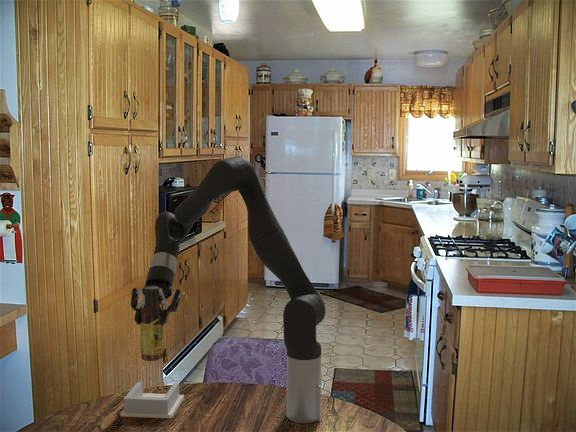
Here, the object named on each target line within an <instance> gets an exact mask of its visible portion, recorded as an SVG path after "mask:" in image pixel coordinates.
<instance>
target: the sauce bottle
mask: <svg viewBox="0 0 576 432" xmlns="http://www.w3.org/2000/svg"><path fill="white" fill-rule="evenodd" d="M143 288H144V287H143ZM144 293H145V305H144V307H143V308H142V310H141V321H140V327H139V328H140V329H139V330H140V332H139V333H140V337H139V338H140V357H141V360H143V361H144V362H145V361H146V362H153V361H154V362H155V361H160V360H161V359H163V357H164V351H165V342H164V341H165V340H164V335H165V334H164V329H165V327H164V326H165V325H164V326H163V325H161V324H160V319H161V314H162V308H161V304H159V287H157V286H149V287H145V288H144Z"/></svg>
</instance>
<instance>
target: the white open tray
mask: <svg viewBox="0 0 576 432" xmlns="http://www.w3.org/2000/svg"><path fill="white" fill-rule="evenodd" d="M184 399H185V395H184V394H180V383H177V382H173V384H172V385H171V386H170V387H169V390H167V393H149V392H148V393H147V392H144V382H143V381H137V382H136V383H135V385H134V386H133V387H132V388H131V389H130V390H129V392H128V393H127V394H126V396H124V397H123V409H122V410H121V411H120V417H128V418H153V419H154V418H156V419H173V416H174V415H175V414H176V413H177V410H178V409H179V407H180V405H181V403H182V402H183V401H184Z"/></svg>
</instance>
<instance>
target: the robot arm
mask: <svg viewBox="0 0 576 432" xmlns="http://www.w3.org/2000/svg"><path fill="white" fill-rule="evenodd" d="M203 177H204V178H203V179H202V180H201V182H199V184H198V185H197V186H196V188H195V189H194V190H193V191H192V192H191V193H190V194H189V195H188V196H187V197H186V198H185V199H184V200H183V201H182V202H180V204H179V205H178V206H176V207H175V210H174V213H172V212H169V211H163V212H161V213H160V214H158V215H157V217H156V219H155V222H154V235H155V236H154V237H155V247H154V252H153V256H152V258H151V260H150V264H149V267H148V272H147V276H146V279H145V285H144V286H143V288H141V289H137V288H136V287H134V288H132V289H131V290H132V291H131V297H130V298H131V300H130V306H131V309H132V311H135V314H134V319H133V320H134V322H135V324H136V325H140V321H141V310H142V308H143V307H144V305H145V293H144V288H145V287H149V286H157V287H159V304H160V305H162V307H163V310H162V309H161V310H162V314H161V319H160V324H161V325H163V326H165V324H167V323H168V318H169V314H170V313H176V312H177V310H178V307H179V303H180V302H181V298H182V292H181V290H180V289H179V288H177V289H176V290H173V286H174V281H175V280H174V279H175V276H176V273H177V265H178V264H177V263H178V259H179V258H178V257H179V252H180V244H179V242H181V241H184V240H186V238H187V237H188V235H189V233H190V231H191V229H192V227H193V226H194V225H195V224H196V223H197V221H199V220H200V219H201V218H202V217H204V215H205V214H206V213H207V212H208V211H209V210H210V207H211V203H212V202H213V201H215V200H216V199H217V198H219V197H221V196H222V195H224V194H226V193H232V192H233V193H234V192H237V191H238V193H239V194H240V196H241V198H242V200H243V202H244V204H245V207H246V211H247V235H248V238H249V241H250V244H251V246H252V247H253V249H254V252H255V253H256V255H257V257H258V259H259V260H260V261H261V263H262V264H263V265H264V267H266V268H267V269H268V270H269V271H270V272H271V273H272V274H273V275H274V276H276V278H277V279H278V280H279V281H280V282H281V284H282V285H283V287H284V288H285V291H286V292H287V294H288V296H289V299H290V300H289V301H288V302H286V304H285V306H284V308H283V316H282V318H283V319H282V321H283V322H282V323H283V325H282V326H283V343H284V346H285V348H286V399H285V401H286V403H285V404H286V407H285V408H286V413H285V414H286V418H287V419H288V420H289V421H291V422H293V423H296V424H312V423H315V422H321V419H322V417H321V414H322V345H321V343H320V342H319V341H317V326H318V325H319V324H320V323H322V322H323V321H324V318H325V316H326V311H327V310H326V305H325V302H324V299H322V297H321V295H320V294H319V292H318V290H317V289H316V287H314V286H315V285H314V284H313V283H312V282H311V280H310V279H309V277H308V275H307V274H306V272H305V270H304V269H303V267H302V265H301V262H300V261H299V259H298V257H297V255H296V253H295V252H294V250H293V247H292V245H291V244H290V241H289V239H288V237H287V235H286V234H285V231H284V230H283V228H282V227H281V224H280V223H279V221H278V220H277V217H276V215H275V213H274V211H273V209H272V207H271V205H270V202H269V201H268V199H267V196H266V193H265V192H264V190H263V188H262V184H261V183H260V180H259V177H258V175H257V173H256V171H255V168H254V167H253V164H252V163H251V162H250V160H249V159H248V158H246V157H244V156H240V155H238V156H237V155H236V156H233V157H232V156H231V157H227V158H226V157H225V158H222V159H219V160H218V161H216V162H215V163H214V164H213V165H212V166H211V168H210V169H209V170H208V171H207V172H206V175H204V176H203ZM141 295H143V296H142V297H141ZM140 297H141V299H140V301H139V298H140ZM170 297H172V300H171V304H170V305H169V304H168V302H167V300H168V299H169V298H170Z"/></svg>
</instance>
